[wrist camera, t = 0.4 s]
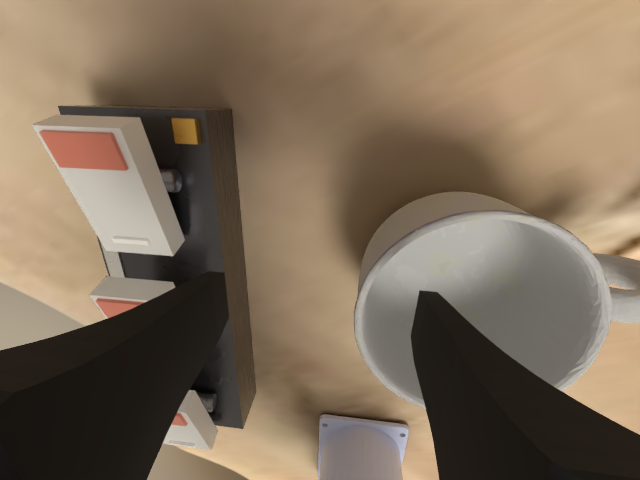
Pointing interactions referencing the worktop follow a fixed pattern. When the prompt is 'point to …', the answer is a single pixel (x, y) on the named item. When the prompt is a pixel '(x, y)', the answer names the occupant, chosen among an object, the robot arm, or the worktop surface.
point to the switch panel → (198, 238)
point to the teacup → (489, 287)
